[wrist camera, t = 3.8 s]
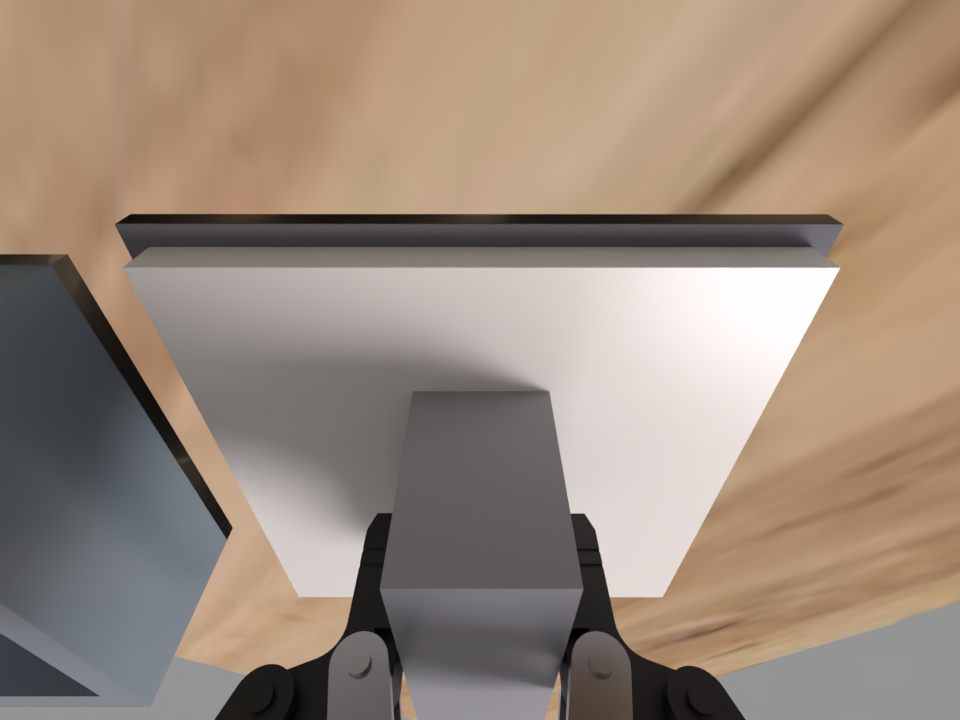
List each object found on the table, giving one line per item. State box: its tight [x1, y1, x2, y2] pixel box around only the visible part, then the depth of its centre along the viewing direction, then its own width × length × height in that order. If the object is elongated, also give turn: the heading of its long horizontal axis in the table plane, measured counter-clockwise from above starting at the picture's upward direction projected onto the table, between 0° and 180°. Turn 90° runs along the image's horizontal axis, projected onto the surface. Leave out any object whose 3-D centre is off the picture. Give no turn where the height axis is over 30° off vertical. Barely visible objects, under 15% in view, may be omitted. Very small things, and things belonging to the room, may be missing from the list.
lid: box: [123, 247, 840, 720], centre depth 13 cm, size 15×15×6 cm
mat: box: [115, 214, 844, 259], centre depth 15 cm, size 16×16×1 cm
